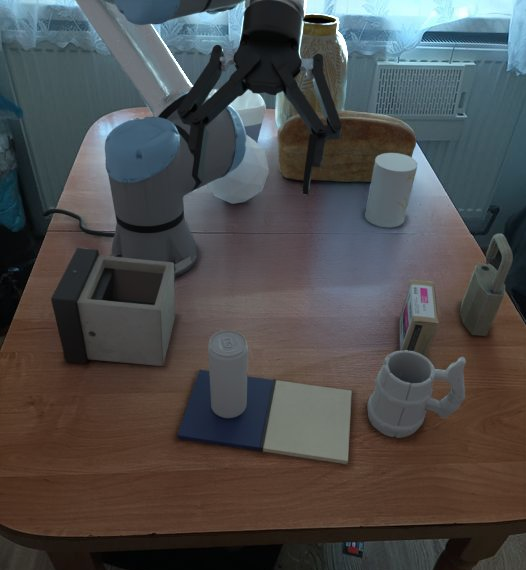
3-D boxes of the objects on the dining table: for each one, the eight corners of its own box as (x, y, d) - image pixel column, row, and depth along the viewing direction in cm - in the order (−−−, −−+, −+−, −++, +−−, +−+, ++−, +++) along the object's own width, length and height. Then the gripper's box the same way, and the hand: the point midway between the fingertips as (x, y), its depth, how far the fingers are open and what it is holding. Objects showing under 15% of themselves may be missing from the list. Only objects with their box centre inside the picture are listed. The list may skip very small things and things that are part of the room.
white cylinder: (403, 229, 109) (417, 173, 101) (363, 224, 110) (374, 168, 102) (404, 210, 115) (417, 155, 107) (366, 205, 116) (376, 150, 108)
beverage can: (214, 423, 71) (212, 359, 63) (207, 396, 74) (204, 332, 66) (250, 416, 72) (252, 352, 64) (241, 390, 75) (242, 326, 67)
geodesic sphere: (264, 200, 104) (270, 123, 102) (190, 194, 105) (196, 117, 103) (267, 211, 119) (273, 144, 117) (203, 206, 119) (208, 139, 118)
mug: (363, 393, 77) (379, 331, 68) (447, 401, 76) (473, 339, 68) (366, 437, 71) (383, 374, 63) (456, 445, 71) (486, 383, 62)
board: (177, 438, 70) (177, 434, 69) (199, 373, 79) (199, 368, 78) (347, 464, 68) (348, 460, 67) (350, 394, 77) (351, 390, 76)
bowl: (195, 134, 139) (193, 89, 132) (252, 129, 143) (253, 85, 135) (209, 160, 129) (208, 112, 121) (270, 154, 133) (272, 107, 125)
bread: (411, 187, 123) (426, 128, 113) (276, 184, 122) (279, 123, 112) (401, 163, 131) (413, 106, 122) (274, 160, 130) (277, 102, 121)
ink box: (398, 319, 89) (410, 277, 83) (422, 322, 89) (435, 281, 83) (399, 362, 82) (411, 320, 76) (424, 365, 81) (439, 323, 76)
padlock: (480, 304, 93) (511, 228, 82) (491, 336, 87) (526, 258, 76) (456, 303, 93) (485, 226, 82) (466, 334, 87) (498, 256, 76)
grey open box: (163, 372, 79) (159, 308, 71) (65, 363, 79) (50, 298, 70) (175, 318, 88) (174, 256, 80) (87, 310, 88) (76, 246, 79)
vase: (268, 125, 146) (273, 9, 127) (329, 123, 148) (343, 9, 130) (281, 152, 133) (288, 29, 115) (347, 149, 136) (365, 28, 117)
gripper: (371, 43, 69) (349, 205, 69) (183, 27, 72) (160, 184, 71) (379, 4, 62) (354, 186, 62) (168, -12, 64) (143, 163, 64)
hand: (250, 185), depth 66 cm, fingers open, 13 cm apart
